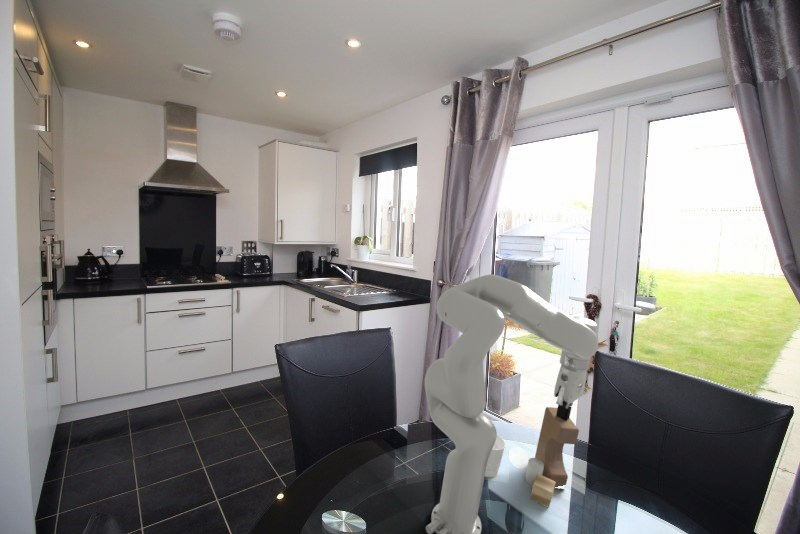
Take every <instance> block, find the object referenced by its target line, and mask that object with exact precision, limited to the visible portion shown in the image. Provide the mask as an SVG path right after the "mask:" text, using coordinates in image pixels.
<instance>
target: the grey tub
mask: <svg viewBox="0 0 800 534" xmlns="http://www.w3.org/2000/svg"><path fill="white" fill-rule="evenodd" d="M543 469H544V464H543V462H542V461H541V460H539V459H536V458H535V457H530V458H529V459H528V462H527V468H526V472H525V476H524V480H525V482H526V483H527V484H529V485H530V486H532V485H533V484H534V481H535V479H536V477H537V474H540V475H542V473H543Z"/></svg>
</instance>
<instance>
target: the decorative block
mask: <svg viewBox="0 0 800 534" xmlns="http://www.w3.org/2000/svg"><path fill="white" fill-rule="evenodd" d="M557 409H558V407H549V406H547V407H545V410H544V413H543V419H542V422H541V429H540V432H539V438H538V442H537V444H536V445H537V446H536V450H535V456H534V458H536V459H539V460H541V461H542V462H543V464H544V469H543V473H542V476H544V477H546V478H549V479H551V480H553V481H555V482H556V484H555V487H558V486H563V485H567V481H568V477H569V475H568V474H567V470H566V468H565V463H564V456H563V453H564V447H565V445H576V444H577V441H578V437H579V433H580V430H579V428H578V427H577V426H576V424H575V423H574V422H573V421H572V419H571V417H569V419H568V420H566V421H565V420H563V419H561V418H560V417H558V416H556V414H557Z"/></svg>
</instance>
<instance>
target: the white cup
mask: <svg viewBox="0 0 800 534" xmlns="http://www.w3.org/2000/svg"><path fill="white" fill-rule="evenodd" d="M505 448H506V441H505V440H504V439H503V438H502V437H501V435H498V434H497V437H496V441H495V444H494V446H493V448H492V451H491V453H490V456H489V459H488V462H487V466H486V471H485V476H484V478H485V477H486V478H494V477H497V475H498V473H499V469H500V466H501V463H502V461H503V460H502V459H503V456H504V452H505Z"/></svg>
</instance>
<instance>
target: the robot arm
mask: <svg viewBox="0 0 800 534" xmlns="http://www.w3.org/2000/svg"><path fill="white" fill-rule="evenodd" d="M435 308H436V310H435V311H436V314H437V317H438V318H439V319H440V321H441V322H443V323H444V324H446V325H447V326H449V327H451V328H452V329H455V330H456V331H458V332H460V333H461V335H459V337H458V338H457V339H456V340H455V341H454V342H453V343H452V344H451V345H450V346H449V347H448V348H447V350H446V351H445V353H444V354H443V355H444V357H442V358H437V359H436V360H434V361H433V362H432V363H431V364H430V365H429V367H428V368H427V369H426V373H425V376H424V390H425V394H426V395H425V396H426V401H427V406H428V412H429V416H430V418H431V420H432V422H433V424H434V425H435V426H436V427H437V428H438V429H439V430H440V431H441V432H442V433H444V434H445V436H446V437H448V438H449V439H450V440H451V441H452V443H453V444H454V446H455V448H454V449H452V450H451V451H450V452H449V453H448V454H447V457H446V461H445V466H444V472H443V473H444V474H443V480H442V485H441V492H440V499H439V502H438V503H437V504H436V505H435V506H434V507H433V509H432V512H431V517H430V520H431V522H430V523H429V524H427V525H426V526H425V531H426V533H427V534H434V533H435V534H482V528H483V526H482V522H481V517H479V515H478V513H479V509H480V503H481V500H482V499H481V498H482V492H483V486H484V482H485V471H486V466H487V462H488V459H489V456H490V453H491V451H492V448H493V446H494V444H495V441H496V437H497V435H498V432H497V428H496V426H495V424H494V423H493V422H492V420H491V418H489V417H488V416H487V415H486V414H485V413H483V412H484V410H485V408H486V404H487V391H486V383H485V382H486V380H485V374H484V373H485V371H484V361H485V358H486V356H487V354H488V353H489V352H490V350H491V349H492V347H493V346H494V344H496V342H497V341H498V340H499V339H500V337H501V335H502V334H503V331H504V330H505V329H504V328H505V326H506V325H505V323H506V321H505V319H508V320H509V321H511V322H512V323H514V324H516V325H518V326H519V327H521V328H522V329H524V330H525V331H527V332H528V333H530V334H531V335H532V334H533V335H534V336H536V337H538V338H540V339H542V340H543V341H545V342H546V343H547V344H549V345H551V346H553V347H555V348H557V349H560V350H561V353H560V359H559V363H560V368H559V371H558V374H557V378H556V381H555V385H554V389H553V390H554V392H553V396H554V398H556V402H555V404H556V405H557V408H558V409H557V414H556V416H558V417H560V418H561V419H563V420H565V421H566V420H568V419H569V418H571V417H570V416H571V413H572V408H573V407H572V406H573V404H574V402H576V400H578V399H579V398H581V397H582V396H583V395H584V393H585V389H586V381H587V375H588V370H589V367H590V362H591V359H592V358H591V357H593V356H594V355H595V354H596V352H597V351H598V348H599V338H598V336H597V332H598V331H597V330H598V324H597V323H596V322H595V321H594V320H592V319H589V318H588V317H587V318H586V317H584V316H570V315H569V314H567V313H565V312H564V311H562V310H561V309H559V308H557V307H555V306H554V305H553V304H550V303H549V302H547V301H546V300H545V299H543V298H542V297H541V296H540V295H538V294H537V293H535V292H534V291H533V290H532V289H530V288H529V287H528V286H526V285H524V284H522V283H520V282H518V281H515V280H512V279H510V278H506V277H503V276H501V275H497V274H485V275H482V276H478V277H475V278H473V279H470V280H468V281H465V282H462V283H460V284H457V285H455V286H453V287H450V288H449V289H446V290H445V291H444V292H443V293H442V294H441V295H440V296H439V298H438V300H437V303H436V307H435Z"/></svg>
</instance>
